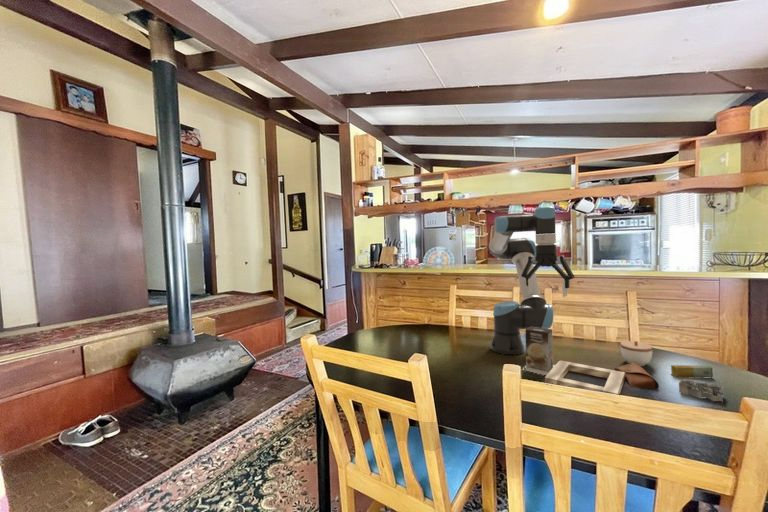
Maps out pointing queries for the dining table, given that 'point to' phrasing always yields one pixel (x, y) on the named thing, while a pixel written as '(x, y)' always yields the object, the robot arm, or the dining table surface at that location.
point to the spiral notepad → (537, 370)
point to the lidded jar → (636, 352)
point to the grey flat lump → (693, 389)
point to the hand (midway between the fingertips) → (547, 294)
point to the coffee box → (539, 348)
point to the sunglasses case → (638, 376)
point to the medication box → (691, 371)
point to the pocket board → (613, 376)
